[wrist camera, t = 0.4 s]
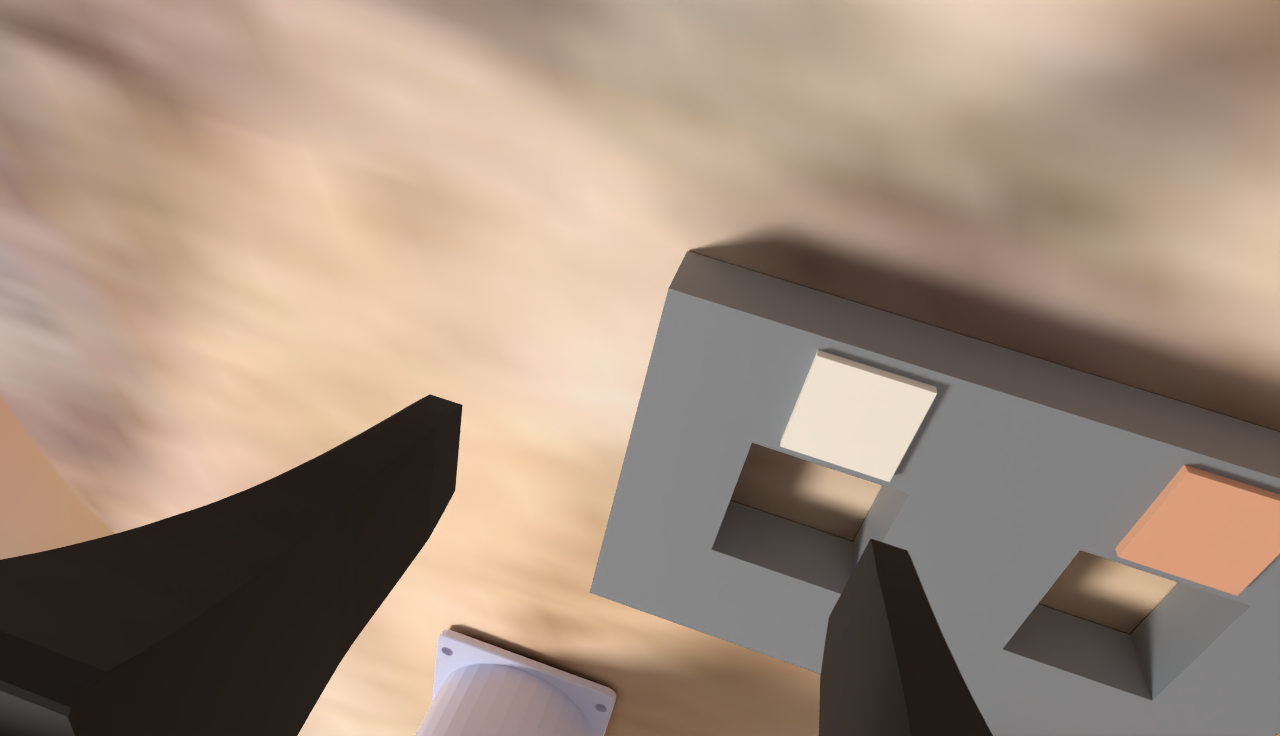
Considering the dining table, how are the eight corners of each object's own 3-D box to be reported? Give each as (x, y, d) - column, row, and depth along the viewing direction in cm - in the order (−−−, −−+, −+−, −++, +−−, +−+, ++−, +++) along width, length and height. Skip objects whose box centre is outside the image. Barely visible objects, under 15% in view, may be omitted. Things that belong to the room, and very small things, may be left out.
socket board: (1165, 735, 26) (1192, 813, 24) (609, 542, 28) (587, 599, 26) (1444, 481, 20) (1516, 559, 17) (687, 250, 21) (666, 293, 19)
